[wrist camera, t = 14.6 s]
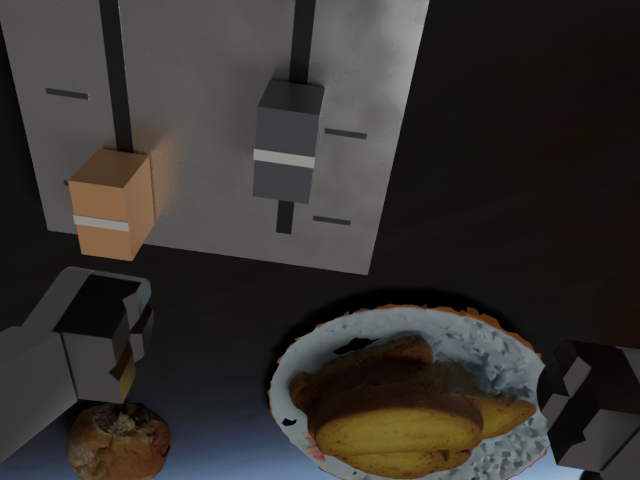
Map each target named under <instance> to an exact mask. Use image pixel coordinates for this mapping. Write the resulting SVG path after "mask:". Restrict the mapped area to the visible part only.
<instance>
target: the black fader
mask: <svg viewBox="0 0 640 480" xmlns="http://www.w3.org/2000/svg"><path fill="white" fill-rule="evenodd" d="M324 92H325V87H319V86H312V85H305V84H298V83H291V82H284V81H277V80H270V81H269V83H268V85H267V87H266V89H265V91H264V93H263V95H262V97H261V100H260V102H259V104H258V106H257V121H256V140H255V148H254V156H253V160H254V180H253V196H254V197H261V198H268V199H275V200H282V201H290V202H297V203H304V204H309V199H310V193H311V187H312V182H313V176H314V171H315V163H316V155H317V147H318V140H319V132H320V124H321V116H322V108H323V100H324Z"/></svg>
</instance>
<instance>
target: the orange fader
mask: <svg viewBox="0 0 640 480" xmlns="http://www.w3.org/2000/svg"><path fill="white" fill-rule="evenodd" d="M68 184H69V189H70V194H71V199H72V205H73V210H74V214H73V218H74V224H76V226H77V231H78V236H79V242H80V247H81V252H82V254H86V255H93V256H100V257H107V258H114V259H121V260H129V261H132V260H133V258H134V257H135V255H136V254H137V252H138V250H139V249H140V247H141V245H142V244H143V242H144V240H145V239H146V237H147V236H148V234H149V232H150V231H151V229H152V227H153V226H154V224H155V223H154V211H153V199H152V187H151V175H150V162H149V155H142V154H135V153H127V152H120V151H113V150H106V149H98V150H97V151H96V152H95V153H94V155H93V156H92V157H91V158H90V159H89V160H88V161H87V162H86V163H85V164H84V165H83V166H82V167H81V168H80V169H79V170H78V171H77V172H76V173H75V174H74V175H73V176H72V177H71V178H70V179H69V180H68Z"/></svg>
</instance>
